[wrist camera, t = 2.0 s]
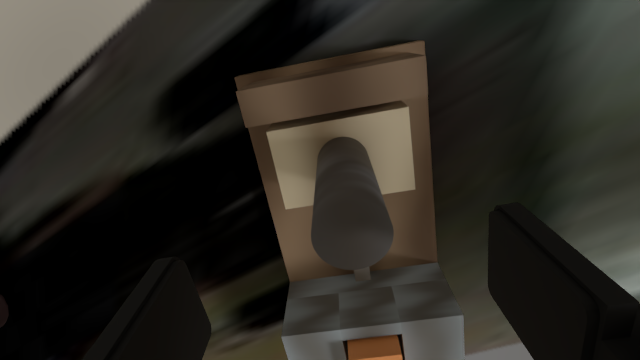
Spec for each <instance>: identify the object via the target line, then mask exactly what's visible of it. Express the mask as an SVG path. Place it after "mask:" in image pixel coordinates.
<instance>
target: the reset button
mask: <svg viewBox="0 0 640 360" xmlns="http://www.w3.org/2000/svg"><path fill="white" fill-rule="evenodd" d="M347 343H348V359H349V360H403V359H402V353H401V349H400V344H399V340H398V336H397V334H396V335H388V336H379V337H370V338H362V339H353V340H347Z"/></svg>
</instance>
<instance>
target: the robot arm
mask: <svg viewBox="0 0 640 360" xmlns="http://www.w3.org/2000/svg"><path fill="white" fill-rule="evenodd" d="M488 287H489V291H490V294H491V296H492V297H493V299H494V300H495V302H496V303H497V305H498V306H499V308H500V309H501V311H502V312H503V314H504V315H505V317H506V318H507V320H508V321H509V323H510V324H511V326H512V328H513V329H514V331H515V332H516V334H517V335H518V337H519V338H520V340H521V341H522V343H523V344H524V346H525V347H526V348H527V350H528V351H529V353H530V355H531V356H532V358H533V359H534V360H640V304H639V301H637V300H636V299H635V298H634V297H633V296H631V295H630V294H629V293H628V292H626V291H625V290H624V289H623V288H622V287H620V286H619V285H618V284H617V283H616V282H614V281H613V280H612V279H611V278H610V277H608V276H607V275H606V274H605V273H603V272H602V271H601V270H600V269H599V268H597V267H596V266H595V265H594V264H593V263H591V262H590V261H589V260H588V259H587V258H585V257H584V256H583V255H582V254H580V253H579V252H578V251H577V250H576V249H574V248H573V247H572V246H571V245H570V244H568V243H567V242H566V241H565V240H564V239H562V238H561V237H560V236H559V235H557V234H556V233H555V232H554V231H553V230H551V229H550V228H549V227H548V226H547V225H545V224H544V223H543V222H542V221H541V220H539V219H538V218H537V217H536V216H535V215H533V214H532V213H531V212H530V211H528V210H527V209H526V208H525V207H524V206H522V205H521V204H520V203H510V204H503V205H497V206H496V207H495V209H494V211H491V212H490V213H489V242H488ZM210 336H211V324H210V321H209V319H208V316H207V314H206V312H205V309H204V307H203V304H202V302H201V299H200V297H199V295H198V292H197V290H196V287H195V285H194V283H193V280H192V278H191V275H190V273H189V270H188V268H187V266H186V264H185V262H184V261H182V260H179V258H177V257H169V258H163V259H158V260H156V261H155V262H154V263H153V264H152V266H151V267H150V268H149V270H148V271H147V273H146V274H145V275H144V277H143V278H142V279H141V281H140V282H139V283H138V285H137V286H136V287H135V289H134V290H133V292H132V293H131V294H130V296H129V297H128V298H127V300H126V301H125V302H124V304H123V305H122V306H121V308H120V309H119V310H118V312H117V313H116V315H115V316H114V317H113V319H112V320H111V321H110V323H109V324H108V325H107V327H106V328H105V329H104V331H103V332H102V334H101V335H100V336H99V338H98V339H97V340H96V342H95V343H94V344H93V346H92V347H91V348H90V350H89V351H88V352H87V354H86V355H85V357H84V358H83V359H82V360H202V358H203V355H204V352H205V350H206V347H207V344H208V341H209V339H210Z"/></svg>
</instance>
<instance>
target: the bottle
mask: <svg viewBox="0 0 640 360" xmlns="http://www.w3.org/2000/svg"><path fill="white" fill-rule="evenodd" d="M8 316H9V312H8V305H7V303H6V301H5V299H4V297H3V296H2V295H1V293H0V328H1V327H2V326H3V325H4V324H5V323H6V321H7V318H8Z"/></svg>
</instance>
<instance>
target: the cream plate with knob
mask: <svg viewBox="0 0 640 360" xmlns="http://www.w3.org/2000/svg"><path fill="white" fill-rule="evenodd" d="M266 133H267V137H268V141H269V145H270V149H271V153H272V157H273V161H274V165H275V169H276V173H277V177H278V181H279V185H280V189H281V193H282V197H283V201H284V205H285V209H292V208H299V207H305V206H312V205H313V215H312V226H311V242H312V245H313V248H314V250H315V252H316V253H317V255H318V256H319V257H320V258H321V259H322V260H323V261H325V262H326V263H328V264H329V265H331V266H334V267H336V268H340V269H345V270H358V269H363V268H366V267H369V266H371V265H373V264H375V263H377V262H378V261H380V260H381V259H382V258H383V257H384V256H385V255H386V254H387V252H388V251H389V249H390V247H391V245H392V242H393V237H394V230H393V225H392V222H391V219H390V217H389V214H388V211H387V208H386V205H385V202H384V199H383V196H382V195H383V194H389V193H396V192H402V191H408V190H415V178H414V166H413V154H412V142H411V129H410V117H409V107H408V106H407V105H406V104H405V103H403V102H402V101H401V100H399V101H393V102H388V103H382V104H377V105H371V106H366V107H360V108H354V109H349V110H343V111H338V112H332V113H326V114H321V115H315V116H310V117H304V118H299V119H293V120H287V121H282V122H276V123H272V124H271V126H270V127H269V129H268V130H267V132H266Z"/></svg>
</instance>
